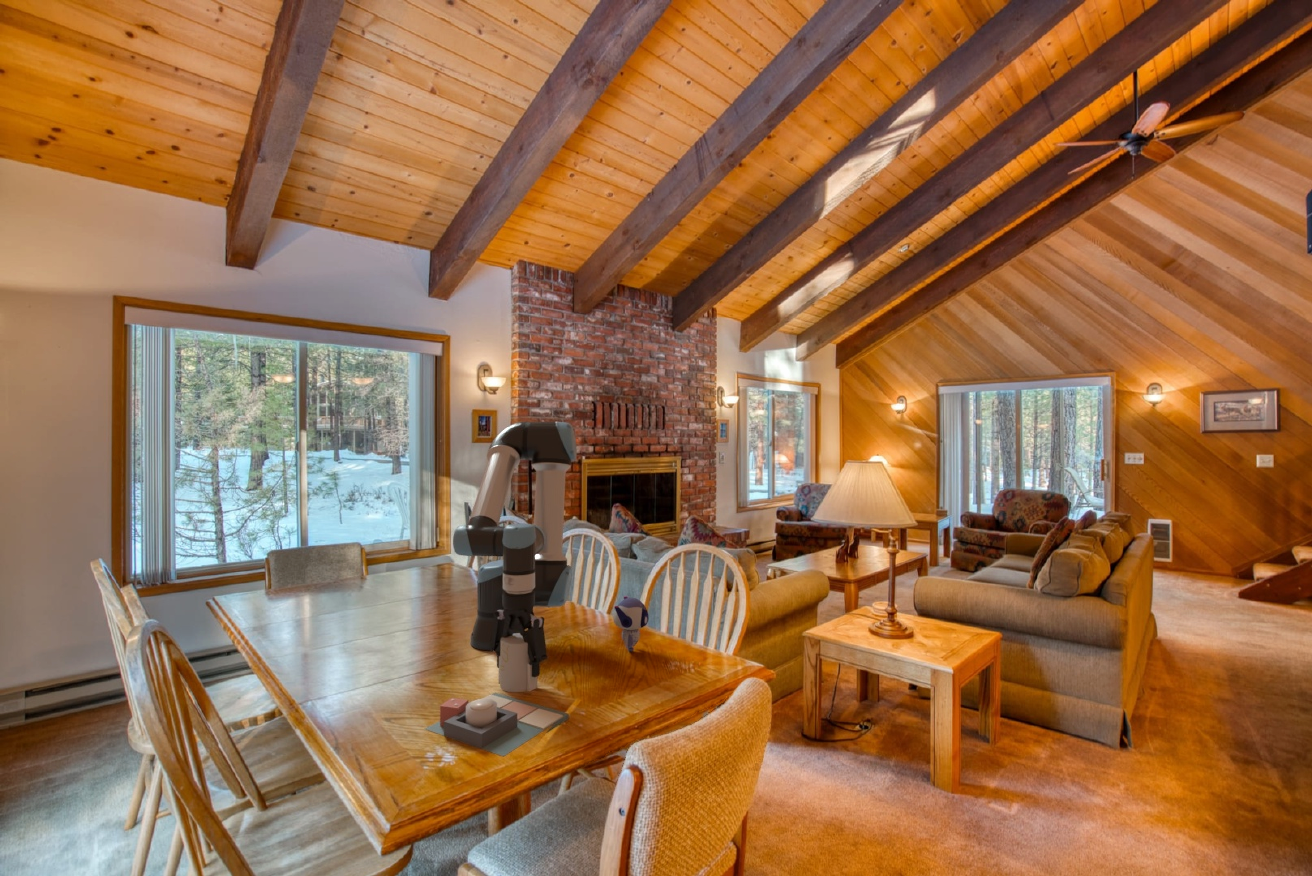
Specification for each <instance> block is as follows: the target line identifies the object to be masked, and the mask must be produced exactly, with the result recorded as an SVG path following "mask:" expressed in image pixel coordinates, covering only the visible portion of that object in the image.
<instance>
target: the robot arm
mask: <svg viewBox="0 0 1312 876" xmlns="http://www.w3.org/2000/svg"><path fill="white" fill-rule="evenodd" d="M577 455H578V452H577V440H576V434H575V430H574V427H573V425H572V424H571V423H569V422H563V421H558V420H556V421H526V420H523V421H517V422H514V423H512V424H510V425H508V426H507V427H505V428H503V430H501V431H500V432H499V433H498V434H497V435H496V437H495V438H494V439H493V440H492V442H491V443H490V445H489V448H488V450H487V454H486V459H487V461H488V463H487V465H486V468H485V471H484V475H483V477H482V480H481V483H480V486H479V489H478V492H477V495H476V498H475V501H474V504H473V508H472V511H471V513H470V515H469V516H470V517H469V519H468V523H467V525H466V524H463V525H459V526H457V527H456V528H455V530H454V533H453V537H452V546H453V550H454V552H455V554H456V555H458V556H463V557H465V556H466V557H502V559H498V560H494V561H489V562H486V563H484V564H482V565H481V566H480V567H479V568H478V570H477V571H478V572H477V580H476V586H477V587H476V588H477V591H476V592H477V594H476V596H477V599H476V600H477V601H476V603H477V605H476V618H475V622H474V625H473V628H472V629H473V630H472V632H471V633H470V645H471V647H472V648H474V649H477V650H482V651H490V652H494V653H495V655H496V667H497V669H498V685H500V651H501V638H502V637H503V638H507V637H509V636H512V635H513V634H514V633H520V635H521V636H523V639H524V642H526V643H528V656H529V659H530V663H528V665H527V692H531V691H533V690H535V689H538V677H539V676H540V672H541V671H540V670H541V669H540V667H541V666H540V664H541V662H542V663H543V661H546V660H547V659H548V652H547V645H546V644H547V643H546V638H545V629H544V625H545V618H544V616H540V617H538V616H535V613H534V608H535V607H536V608H537V607H538V608H549V609H550V608H558V607H559V608H560V607H562V606H564V605H565V604H566V603H567V601H568V598H569V596H570V590H571V586H572V580H573V567H572V566H571V565H570V564H569V565H568V559H567V557H566V556H565V555H564V554H563V543H564V542H563V539H564V522H565V520H564V518H565V517H564V516H565V495H566V494H565V489H566V472H567V471H569V470H570V468H571V467H572V462H575V461H577ZM521 461H531V466H532V468H533V469H534V471H535V472H536V475H535V493H534V496H535V497H534V512H533V513H534V517H533V524H531V523H522V522H521V523H511V524H508V525H505V526H500V525H499V524H500V520H501V516H502V514H503V509H504V507H505V503H506V498H507V495H508V493H509V489H510V485H511V482H512V478H513V475H514V471H515V469H516V468H517V467H518V466H519V465H520V462H521Z"/></svg>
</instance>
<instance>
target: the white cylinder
mask: <svg viewBox="0 0 1312 876" xmlns="http://www.w3.org/2000/svg"><path fill="white" fill-rule="evenodd" d="M528 663H530V659H529V656H528V643H526V642H524V639H523V636H521V635H520V633H514V634H513V635H512V636H509V637H507V638H503V637H502V638H501V651H500V684H499V688H500V689H501V690H502V691H504V692H508V693H522V692H526V691H527V665H528ZM527 692H528V691H527Z"/></svg>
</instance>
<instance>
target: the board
mask: <svg viewBox="0 0 1312 876" xmlns="http://www.w3.org/2000/svg"><path fill="white" fill-rule="evenodd" d="M481 699H491V700H494V701H496V703H497V720H496V721H494V722H493V723H491V724H489V725H487V726H486V727H484V728H482V729H481V728H478V727H475V726H472V725H469V724H466V710H465V711H463V712H461V713H459V714H457V715H456V716H454V717H452V718H450V719H448V720H446V721H444V726H440V720H439V721H437V722H435V723H432V724H431V725H430V726H429V725H428V726H427V727H426V728H424V730H426V731H429V732H432V733H435V734H437V735H441V736H444V737H446V738H449V739H451V740H454V741H458V742H461V743H464V744H467V745H468V746H472V747H475V748H478V749H480V750H484V751H486V752H489V753H493V754H494V755H497V756H501V757H505V756H507V755H509V754H510V753H512V752H513V751H515V750H516V749H518V748H520V747H521V746H522V745H523V744H525V743H527V742H528V741H530V740H531V739H533V738H535V737H536V736H537V735H539V734H540V733H542V732H543V731H545V730H546V729H548V728H549V729H548V730H547V732H546V734H548V733H549V732H550V731H552V730H554V729H555V728H557V727H558V726H560V725H561V724H563V723H565V722H566V721H567V720H569V719H570V713H567V712H564V711H561V710H556V709H554V708H550V707H546V706H543V705H540V704H537V703H533V702H532V703H531V702H529V701H526V700H523V699H518V698H516V697H512V696H509V695H504V694H501V693H499V692H498V693H497V692H494V693H492V694H489V695H486V696H485V697H483V698H481Z"/></svg>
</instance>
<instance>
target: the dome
mask: <svg viewBox="0 0 1312 876" xmlns="http://www.w3.org/2000/svg"><path fill="white" fill-rule="evenodd" d="M496 720H497V703H496V701H494V700H491V699H482V698H478V699H475V700H472V701H470V702H468V704H467V705H466V724H469V725H472V726H475V727H478V728H481V729H482V728H484V727H486V726H487V725H489V724H491V723H493V722H494V721H496Z"/></svg>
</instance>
